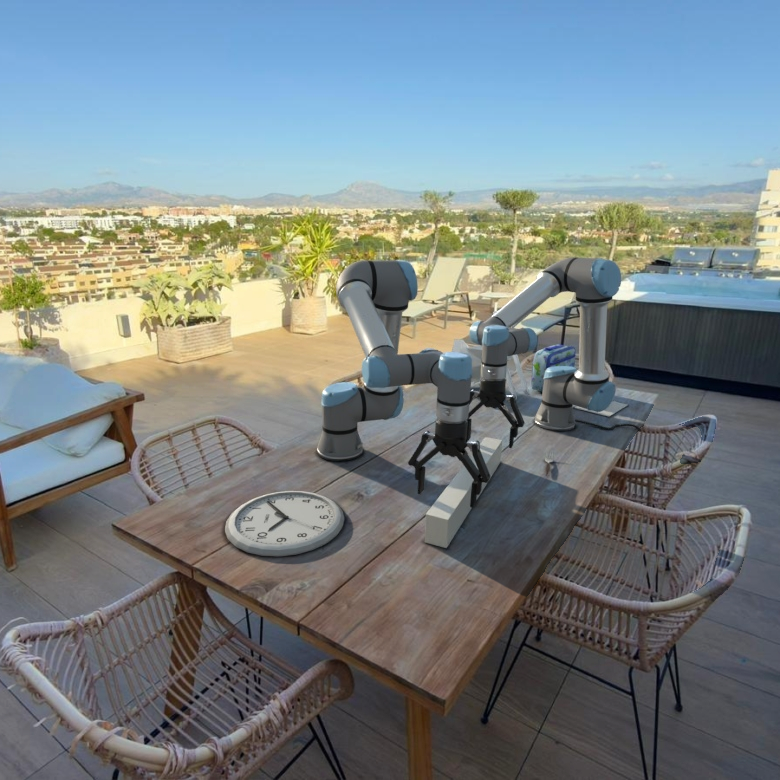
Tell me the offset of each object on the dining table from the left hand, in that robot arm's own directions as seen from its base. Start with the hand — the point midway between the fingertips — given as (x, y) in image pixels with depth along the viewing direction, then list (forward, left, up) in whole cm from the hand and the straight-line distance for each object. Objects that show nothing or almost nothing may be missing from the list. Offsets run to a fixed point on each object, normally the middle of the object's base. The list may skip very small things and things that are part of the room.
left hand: (446, 498), depth 130 cm
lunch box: (-88, +107, -9) cm, 139 cm away
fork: (-20, +49, -9) cm, 54 cm away
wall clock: (-18, -36, -9) cm, 42 cm away
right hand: (-26, +30, 0) cm, 39 cm away
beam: (-13, +15, -9) cm, 21 cm away
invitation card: (-60, +110, -9) cm, 125 cm away
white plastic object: (-96, +71, -9) cm, 120 cm away
